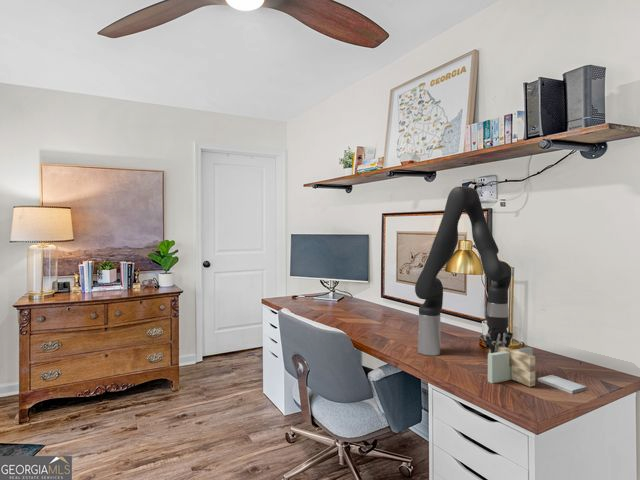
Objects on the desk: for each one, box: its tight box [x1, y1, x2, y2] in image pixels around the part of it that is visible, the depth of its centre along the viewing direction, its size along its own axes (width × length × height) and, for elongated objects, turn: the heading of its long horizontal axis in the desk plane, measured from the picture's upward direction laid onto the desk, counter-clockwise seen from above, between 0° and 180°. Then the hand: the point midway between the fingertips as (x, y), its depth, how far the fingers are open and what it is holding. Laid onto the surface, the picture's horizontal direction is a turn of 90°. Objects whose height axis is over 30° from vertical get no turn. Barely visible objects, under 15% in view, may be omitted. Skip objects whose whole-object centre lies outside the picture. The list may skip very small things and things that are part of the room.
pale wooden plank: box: [488, 344, 536, 388], centre depth 143 cm, size 18×2×10 cm, turn 23°
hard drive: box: [537, 374, 588, 395], centre depth 137 cm, size 2×8×12 cm
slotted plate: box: [487, 346, 534, 384], centre depth 143 cm, size 20×2×10 cm, turn 113°
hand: (497, 359), depth 148 cm, fingers closed on pale wooden plank, 2 cm apart
